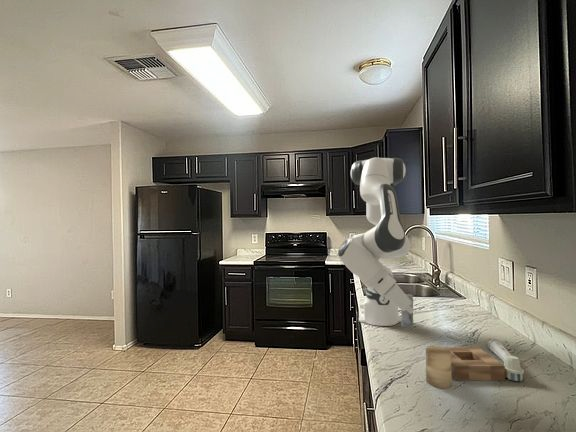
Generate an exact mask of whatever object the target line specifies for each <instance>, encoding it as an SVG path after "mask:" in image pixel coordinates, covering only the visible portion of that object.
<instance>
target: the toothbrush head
mask: <svg viewBox="0 0 576 432" xmlns="http://www.w3.org/2000/svg"><path fill="white" fill-rule="evenodd" d="M487 347H488V350H490V352H492V353H493V354H495V355H496V356H497V357H498V358H499V359H500V360H502V362H503V365H504V366H505V379H506V378H507V379H508V380H510V381H514V382H522V381H524V377H523V376H524V373H525V369H524V368H522V367H521V360H520V359H519V357H517V356H515V355H512V354H511V353H510V352H509V350H507V349H506V348H505V346H504V343H502V342H501V341H500V340H499V339H496V338H490V339H489V340H488V341H487Z"/></svg>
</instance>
